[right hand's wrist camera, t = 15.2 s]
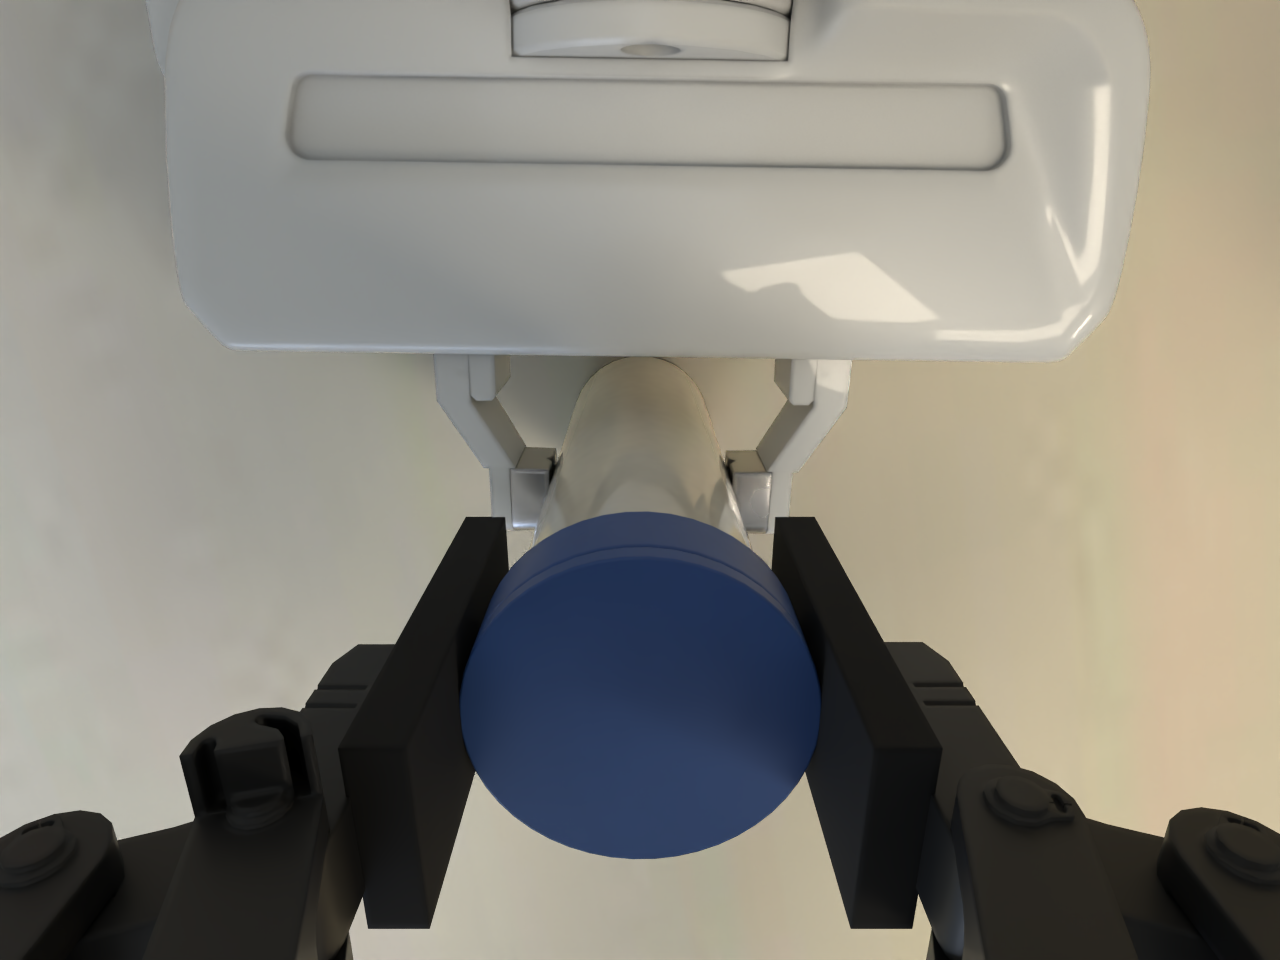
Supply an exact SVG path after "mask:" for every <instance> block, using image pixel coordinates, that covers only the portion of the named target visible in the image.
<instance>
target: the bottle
mask: <svg viewBox="0 0 1280 960" xmlns="http://www.w3.org/2000/svg"><path fill="white" fill-rule="evenodd" d="M643 511H649V512H659V513H669V514H674V515H679V516H683V517H687V518H692V519H695V520H697V521H700V522H703V523H706V524H708V525H711V526H714V527H716V528H718V529H720V530H721V531H723V532H725V533H727V534H729V535H731V536H733V537H734V538H736V539H737V540H739V541H740V542H742V543H743V544H744V545H746V546H747V547H749V548H750V549H751V550H752V547H751V544H750V540H749V537H748V534H747V531H746V528H745V525H744V522H743V519H742V516H741V513H740V510H739V506H738V503H737V500H736V497H735V494H734V491H733V488H732V485H731V482H730V479H729V475H728V472H727V469H726V466H725V463H724V460H723V457H722V454H721V451H720V448H719V445H718V441H717V438H716V435H715V432H714V429H713V426H712V423H711V420H710V417H709V414H708V411H707V407H706V404H705V401H704V399H703V396H702V394H701V392H700V390H699V388H698V387H697V385H696V384H695V383H694V381H693V380H692V379H691V378H690V377H689V376H688V375H687V374H686V373H685V372H684V371H683V370H681V369H680V368H679V367H677V366H675V365H673V364H672V363H669V362H667V361H665V360H662V359H658V358H654V357H627V358H623V359H619V360H617V361H614V362H612V363H610V364H608V365H606V366H604V367H603V368H601V369H600V370H599V371H597V372H596V373H595V374H594V375H593V376H592V377H591V378H590V379H589V380H588V382H587V383H586V384H585V386H584V387H583V389H582V391H581V392H580V394H579V397H578V399H577V402H576V405H575V408H574V411H573V414H572V417H571V421H570V424H569V427H568V430H567V433H566V436H565V439H564V442H563V445H562V448H561V451H560V454H559V458H558V461H557V464H556V467H555V470H554V473H553V476H552V479H551V482H550V485H549V488H548V491H547V495H546V498H545V501H544V504H543V507H542V510H541V513H540V516H539V519H538V522H537V525H536V528H535V532H534V535H533V538H532V541H531V544H530V547H529V550H530V549H531V548H533V547H534V546H535V545H537V544H538V543H539V542H541V541H542V540H543V539H545V538H547V537H549V536H550V535H552V534H554V533H556V532H557V531H559V530H561V529H563V528H565V527H568V526H570V525H573V524H575V523H578V522H580V521H583V520H587V519H590V518H594V517H598V516H601V515H607V514H614V513H621V512H643ZM529 550H528V551H529ZM752 551H753V550H752Z"/></svg>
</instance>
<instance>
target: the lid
mask: <svg viewBox="0 0 1280 960" xmlns="http://www.w3.org/2000/svg"><path fill="white" fill-rule="evenodd" d="M459 702H460V717H461V726H462V736H463V740H464V743H465V747H466V750H467V753H468V755H469V758H470V760H471V762H472V764H473V766H474V769H475V771H476V772H477V774H478V775H479V777H480V779H481V780H482V782H483V783H484V785H485V786H486V788H487V789H488V790H489V791H490V793H491V794H492V795H493V796H494V797H495V798H496V800H497V801H498V802H499V803H500V804H501V805H502V806H503V807H504V808H505V809H507V810H508V811H509V812H510V813H511V814H512V815H513V816H514V817H516V818H517V819H518V820H520V821H521V822H523V823H524V824H525V825H527V826H528V827H530V828H531V829H533V830H535V831H536V832H538V833H540V834H542V835H544V836H545V837H547V838H549V839H551V840H554V841H556V842H558V843H561V844H563V845H566V846H568V847H571V848H574V849H578V850H581V851H584V852H588V853H592V854H597V855H602V856H607V857H615V858H626V859H657V858H665V857H674V856H680V855H684V854H689V853H693V852H698V851H701V850H704V849H707V848H710V847H713V846H716V845H719V844H721V843H723V842H725V841H727V840H730V839H732V838H734V837H736V836H738V835H740V834H741V833H743V832H745V831H746V830H748V829H750V828H751V827H753V826H755V825H756V824H757V823H759V822H760V821H761V820H763V819H764V818H765V817H767V816H768V815H769V814H770V813H772V812H773V811H774V810H775V809H776V808H777V807H778V806H779V805H780V804H781V803H782V802H783V801H784V800H785V799H786V798H787V797H788V795H789V794H790V793H791V791H792V790H793V789H794V788H795V786H796V785H797V784H798V782H799V781H800V779H801V777H802V776H803V774H804V772H805V770H806V769H807V767H808V765H809V763H810V760H811V758H812V755H813V753H814V750H815V748H816V744H817V740H818V732H819V723H820V712H821V686H820V682H819V678H818V674H817V670H816V666H815V664H814V661H813V658H812V656H811V653H810V650H809V648H808V645H807V643H806V640H805V637H804V635H803V632H802V629H801V627H800V624H799V621H798V619H797V616H796V613H795V611H794V608H793V606H792V604H791V601H790V599H789V596H788V594H787V592H786V591H785V589H784V587H783V586H782V584H781V582H780V581H779V579H778V578H777V576H776V575H775V574H774V573H773V571H772V570H771V569H770V568H769V567H768V565H767V564H766V563H765V562H764V561H763V560H762V559H761V558H760V557H759V556H758V555H757V554H756V553H754V552H753V551H752V550H751V549H750V548H749V547H747V546H746V545H744V544H743V543H742V542H740V541H739V540H737V539H736V538H734V537H733V536H731V535H729V534H727V533H725V532H723V531H721V530H720V529H718V528H716V527H714V526H711V525H708V524H706V523H703V522H700V521H697V520H695V519H692V518H687V517H683V516H679V515H674V514H669V513H659V512H649V511H643V512H621V513H614V514H607V515H601V516H598V517H594V518H590V519H587V520H583V521H580V522H578V523H575V524H573V525H570V526H568V527H565V528H563V529H561V530H559V531H557V532H556V533H554V534H552V535H550V536H549V537H547V538H545V539H543V540H542V541H541V542H539V543H538V544H537V545H535V546H534V547H533V548H531V549H530V550H529V551H527V552H526V553H525V554H524V555H523V556H522V557H521V558H520V559H519V560H518V561H517V562H516V563H515V564H514V565H513V566H512V567H511V569H510V570H509V571H508V573H507V574H506V575H505V577H504V578H503V579H502V581H501V582H500V584H499V586H498V587H497V589H496V591H495V593H494V595H493V597H492V598H491V601H490V603H489V606H488V609H487V611H486V614H485V617H484V619H483V622H482V624H481V627H480V630H479V632H478V635H477V638H476V640H475V643H474V646H473V648H472V651H471V653H470V656H469V659H468V662H467V664H466V667H465V670H464V673H463V678H462V683H461V688H460V696H459Z"/></svg>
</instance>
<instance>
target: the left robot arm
mask: <svg viewBox="0 0 1280 960" xmlns="http://www.w3.org/2000/svg"><path fill="white" fill-rule="evenodd" d="M145 2H146V7H147V13H148V18H149V24H150V29H151V35H152V41H153V46H154V51H155V55H156V58H157V61H158V64H159V67H160V69H161V72H162V73H163V75H164V77H165V135H166V164H167V179H168V194H169V207H170V217H171V228H172V238H173V246H174V254H175V262H176V270H177V276H178V281H179V286H180V291H181V294H182V297H183V300H184V303H185V304H186V306H187V308H188V309H189V310H190V311H191V312H192V313H193V314H194V315H195V317H196V318H197V319H198V320H199V321H200V322H201V323H202V324H203V325H204V326H205V328H206V329H207V330H208V331H209V332H210V333H211V334H212V335H213V336H214V337H215V338H216V339H217V340H218V341H219V342H220V343H221V344H222V345H223V346H225V347H227V348H229V349H232V350H237V351H286V352H353V353H421V354H433V356H434V369H435V381H436V394H437V402H438V403H439V404H440V406H441V407H442V409H443V410H444V412H445V413H446V414H447V416H448V417H449V419H450V420H451V422H452V423H453V424H454V426H455V427H456V429H457V430H458V432H459V433H460V434H461V436H462V437H463V439H464V440H465V442H466V443H467V445H468V446H469V447H470V449H471V450H472V452H473V453H474V455H475V456H476V457H477V459H478V460H479V462H480V463H481V465H482V466H483V467H484V468H489V475H490V492H491V509H492V517H505V520H506V530H509V531H514V530H535V528H536V525H537V522H538V519H539V516H540V513H541V510H542V507H543V504H544V501H545V498H546V495H547V491H548V488H549V485H550V482H551V479H552V476H553V473H554V470H555V467H556V464H557V457H556V448H538V447H525V446H526V445H525V443H524V442H523V440H522V438H521V437H520V435H519V433H518V432H517V430H516V428H515V427H514V425H513V423H512V422H511V420H510V418H509V417H508V415H507V413H506V412H505V410H504V409H503V407H502V405H501V404H500V402H499V400H498V399H497V397H496V395H497V394H498V392H499V391H500V390H501V389H502V387H503V386H504V385H505V383H506V382H507V381H508V380H509V378H510V355H555V356H622V357H690V358H757V359H775V372H774V382H775V383H776V384H777V386H778V387H779V388H780V390H781V391H782V392H783V394H784V395H785V396H786V398H787V399H788V400H787V402H786V403H785V405H784V406H783V408H782V409H781V411H780V413H779V414H778V416H777V417H776V419H775V420H774V422H773V423H772V425H771V426H770V428H769V429H768V431H767V433H766V434H765V436H764V437H763V439H762V440H761V442H760V443H759V445H758V446H757V448H756V449H757V450H741V451H726V456H725V466H726V469H727V472H728V475H729V479H730V482H731V485H732V488H733V491H734V494H735V497H736V500H737V503H738V506H739V510H740V513H741V516H742V519H743V522H744V525H745V528H746V531H747V533H750V534H774V527H775V517H789V510H790V499H791V488H792V477H793V473H797V472H799V471H800V469H801V468H802V467H803V465H804V464H805V463H806V461H807V460H808V459H809V457H810V456H811V455H812V453H813V452H814V451H815V449H816V448H817V447H818V445H819V444H820V443H821V441H822V440H823V439H824V437H825V436H826V435H827V433H828V432H829V431H830V429H831V428H832V427H833V425H834V424H835V423H836V421H837V420H838V419H839V417H840V416H841V415H842V413H843V412H844V411H845V409H846V408H847V401H848V393H849V384H850V376H851V367H852V360H891V361H959V362H1025V363H1053V362H1058V361H1061V360H1063V359H1065V358H1066V357H1068V356H1069V355H1070V354H1071V353H1072V352H1073V351H1074V350H1075V349H1076V348H1078V347H1079V346H1080V345H1081V344H1082V343H1083V342H1084V341H1085V340H1086V339H1087V338H1088V337H1089V336H1090V335H1091V333H1092V332H1093V331H1094V330H1095V329H1096V328H1097V327H1098V326H1099V325H1100V324H1101V323H1102V322H1103V321H1104V320H1105V318H1106V317H1107V315H1108V313H1109V312H1110V309H1111V307H1112V304H1113V301H1114V299H1115V296H1116V292H1117V289H1118V285H1119V281H1120V277H1121V273H1122V269H1123V265H1124V260H1125V255H1126V250H1127V245H1128V240H1129V236H1130V231H1131V226H1132V220H1133V214H1134V209H1135V203H1136V197H1137V192H1138V185H1139V178H1140V171H1141V165H1142V158H1143V151H1144V143H1145V134H1146V126H1147V117H1148V106H1149V95H1150V74H1151V65H1150V49H1149V42H1148V36H1147V32H1146V28H1145V24H1144V21H1143V18H1142V16H1141V13H1140V11H1139V9H1138V7H1137V5H1136V3H1135V1H1134V0H145Z"/></svg>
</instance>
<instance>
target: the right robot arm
mask: <svg viewBox="0 0 1280 960" xmlns="http://www.w3.org/2000/svg"><path fill="white" fill-rule="evenodd" d="M508 571H509V565H508V550H507V535H506V520H505V517H466V518H465V520H464V521H463V523H462V525H461V527H460V529H459V530H458V532H457V534H456V536H455V538H454V539H453V541H452V543H451V545H450V547H449V548H448V550H447V552H446V554H445V556H444V557H443V559H442V561H441V563H440V565H439V566H438V568H437V570H436V572H435V574H434V575H433V577H432V579H431V581H430V583H429V584H428V586H427V588H426V590H425V592H424V593H423V595H422V597H421V599H420V601H419V602H418V604H417V606H416V608H415V610H414V611H413V613H412V615H411V617H410V619H409V620H408V622H407V624H406V626H405V628H404V629H403V631H402V633H401V635H400V637H399V638H398V640H397V642H396V644H358V645H357V646H355V647H354V648H353V649H351V650H350V651H349V652H347V653H346V654H345V655H343V656H342V657H340V658H339V659H338V660H336V661H335V662H334V663H332V665H331V666H330V668H329V669H328V671H327V672H326V674H325V675H324V677H323V678H322V680H321V681H320V683H319V684H318V689H317V690H314V692H313V693H312V695H311V696H310V698H309V699H308V701H307V702H306V706H305V708H302V710H301V711H300V712H298V711H294V710H290V709H286V708H282V707H280V708H259V709H255V710H251V711H247V712H243V713H239V714H235V715H232V716H230V717H228V718H226V719H224V720H222V721H219V722H217V723H215V724H213V725H211V726H209V727H208V728H207V729H205V730H204V731H203V732H201V733H200V734H199V735H197V736H196V737H195V738H193V739H192V740H191V741H190V742H189V744H188V745H187V746H186V748H185V749H184V750H183V752H182V753H181V755H180V756H179V757H180V761H181V765H182V769H183V773H184V776H185V780H186V784H187V788H188V792H189V796H190V800H191V803H192V807H193V811H194V815H195V819H194V821H193V822H190V823H186V824H183V825H180V826H176V827H173V828H169V829H164V830H160V831H156V832H152V833H147V834H143V835H139V836H134V837H130V838H126V839H122V840H117V838H116V835H115V832H114V829H113V825H112V823H111V822H110V821H109V820H108V819H106V818H105V817H104V816H103V815H102V814H101V813H94V812H88V811H81V810H79V811H73V812H66V813H59V814H53V815H50V816H48V817H45V818H42V819H39V820H36V821H33V822H31V823H28V824H25V825H23V826H21V827H20V828H18V829H16V830H14V831H12V832H10V833H9V834H7V835H5V836H3V837H1V838H0V960H353V955H352V948H351V941H350V936H349V929H350V927H351V924H352V922H353V919H354V917H355V914H356V912H357V909H358V907H359V904H360V902H361V899H362V897H363V901H364V907H365V913H366V919H367V925H368V929H430V926H431V922H432V919H433V915H434V912H435V908H436V905H437V902H438V898H439V895H440V891H441V888H442V884H443V881H444V877H445V874H446V871H447V867H448V864H449V860H450V857H451V853H452V850H453V846H454V843H455V839H456V836H457V833H458V829H459V826H460V822H461V819H462V815H463V812H464V808H465V805H466V802H467V798H468V795H469V791H470V788H471V784H472V781H473V777H474V774H475V769H474V766H473V764H472V762H471V760H470V758H469V755H468V753H467V750H466V747H465V743H464V740H463V736H462V726H461V717H460V702H459V696H460V688H461V683H462V678H463V673H464V670H465V667H466V664H467V662H468V659H469V656H470V653H471V651H472V648H473V646H474V643H475V640H476V638H477V635H478V632H479V630H480V627H481V624H482V622H483V619H484V617H485V614H486V611H487V609H488V606H489V603H490V601H491V598H492V597H493V595H494V593H495V591H496V589H497V587H498V586H499V584H500V582H501V581H502V579H503V578H504V577H505V575H506V574H507V573H508ZM772 571H773V573H774V574H775V575H776V576H777V578H778V579H779V581H780V582H781V584H782V586H783V587H784V589H785V591H786V592H787V594H788V596H789V599H790V601H791V604H792V606H793V608H794V611H795V613H796V616H797V619H798V621H799V624H800V627H801V629H802V632H803V635H804V637H805V640H806V643H807V645H808V648H809V650H810V653H811V656H812V658H813V661H814V664H815V666H816V670H817V674H818V678H819V682H820V686H821V712H820V723H819V732H818V740H817V744H816V748H815V750H814V753H813V755H812V758H811V760H810V763H809V765H808V767H807V769H806V770H805V772H806V776H807V779H808V783H809V786H810V790H811V793H812V797H813V800H814V804H815V807H816V810H817V814H818V817H819V821H820V824H821V828H822V831H823V835H824V838H825V841H826V845H827V848H828V852H829V855H830V859H831V862H832V866H833V869H834V872H835V876H836V879H837V883H838V886H839V890H840V893H841V897H842V900H843V904H844V907H845V910H846V914H847V917H848V921H849V924H850V928H851V929H912V927H913V921H914V915H915V910H916V904H917V898H918V895H919V897H920V900H921V902H922V904H923V907H924V909H925V912H926V914H927V917H928V919H929V922H930V924H931V927H932V930H931V936H930V941H929V947H928V952H927V958H926V960H1280V834H1279V833H1277V832H1275V831H1273V830H1271V829H1270V828H1268V827H1266V826H1264V825H1262V824H1261V823H1259V822H1257V821H1254V820H1251V819H1248V818H1246V817H1243V816H1240V815H1237V814H1234V813H1231V812H1228V811H1223V810H1216V809H1209V808H1202V807H1200V808H1194V809H1187V810H1181V811H1180V812H1179V813H1177V814H1176V815H1175V816H1174V817H1173V818H1171V819H1170V821H1169V824H1168V827H1167V830H1166V834H1165V837H1159V836H1155V835H1151V834H1146V833H1142V832H1138V831H1133V830H1129V829H1125V828H1121V827H1116V826H1112V825H1108V824H1104V823H1101V822H1098V821H1095V820H1091V819H1088V818H1086V817H1085V815H1084V814H1083V812H1082V811H1081V809H1080V807H1079V806H1078V804H1077V803H1076V801H1075V800H1074V798H1072V797H1071V796H1070V795H1069V794H1068V793H1066V792H1065V791H1064V790H1063V789H1062V788H1061V787H1059V786H1058V785H1057V784H1056V783H1054V782H1052V781H1050V780H1048V779H1046V778H1044V777H1042V776H1040V775H1038V774H1037V773H1035V772H1032V771H1029V770H1025V769H1022V768H1020V767H1019V765H1018V764H1017V762H1016V761H1015V759H1014V758H1013V756H1012V755H1011V753H1010V752H1009V750H1008V749H1007V747H1006V746H1005V744H1004V743H1003V741H1002V740H1001V738H1000V737H999V735H998V734H997V732H996V731H995V729H994V728H993V726H992V725H991V724H990V722H989V721H988V719H987V718H986V716H985V715H984V713H983V712H982V710H981V709H980V707H979V706H976V704H975V700H974V698H973V697H972V695H971V694H970V692H969V691H968V689H967V688H966V687H963V682H962V680H961V679H960V677H959V676H958V674H957V673H956V672H955V670H954V669H953V667H952V666H951V664H950V663H949V661H948V660H946V659H945V658H944V657H942V656H941V655H939V654H938V653H937V652H935V651H934V650H933V649H931V648H930V647H928V646H927V645H926V644H924V643H923V642H884V641H883V639H882V638H881V636H880V634H879V632H878V630H877V629H876V627H875V625H874V623H873V621H872V620H871V618H870V616H869V614H868V612H867V611H866V609H865V607H864V605H863V603H862V602H861V600H860V598H859V596H858V594H857V593H856V591H855V589H854V587H853V585H852V584H851V582H850V580H849V578H848V576H847V575H846V573H845V571H844V569H843V567H842V566H841V564H840V562H839V560H838V558H837V557H836V555H835V553H834V551H833V549H832V548H831V546H830V544H829V542H828V540H827V539H826V537H825V535H824V533H823V531H822V530H821V528H820V526H819V524H818V522H817V521H816V519H815V517H775V527H774V542H773V557H772Z"/></svg>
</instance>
